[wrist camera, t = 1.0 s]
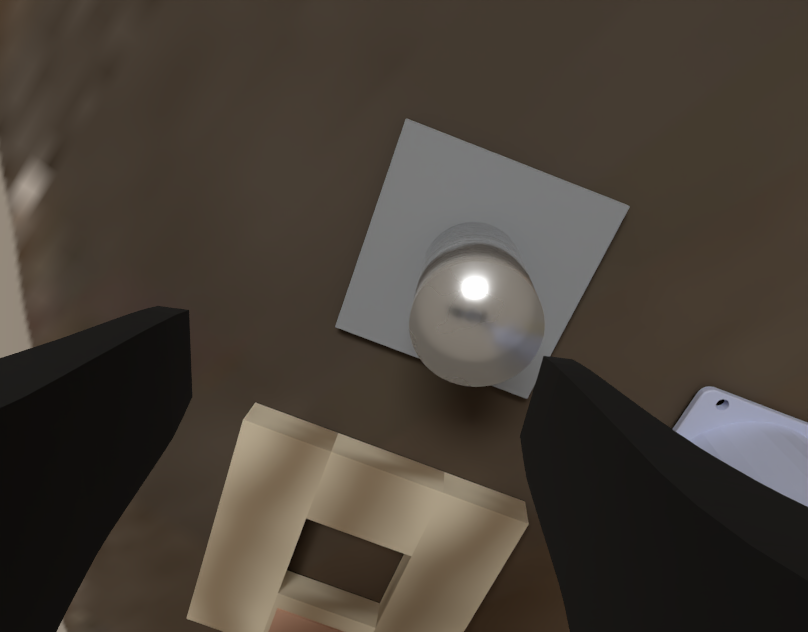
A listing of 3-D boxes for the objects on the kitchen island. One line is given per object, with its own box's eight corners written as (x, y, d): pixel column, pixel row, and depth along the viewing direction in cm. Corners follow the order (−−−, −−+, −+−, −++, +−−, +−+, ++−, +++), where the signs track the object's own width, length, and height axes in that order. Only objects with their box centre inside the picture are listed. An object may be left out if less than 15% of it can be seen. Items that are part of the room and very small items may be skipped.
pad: (626, 204, 20) (629, 206, 19) (525, 393, 23) (527, 399, 23) (407, 118, 20) (405, 118, 19) (337, 322, 23) (334, 327, 22)
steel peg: (538, 243, 20) (568, 292, 15) (497, 330, 22) (510, 404, 16) (444, 206, 20) (437, 241, 15) (408, 296, 22) (390, 359, 16)
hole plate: (525, 501, 25) (529, 525, 24) (423, 674, 31) (421, 702, 29) (255, 402, 25) (242, 420, 23) (199, 595, 30) (185, 620, 29)
